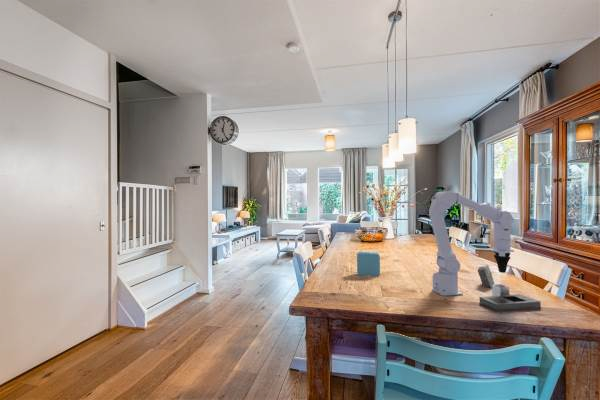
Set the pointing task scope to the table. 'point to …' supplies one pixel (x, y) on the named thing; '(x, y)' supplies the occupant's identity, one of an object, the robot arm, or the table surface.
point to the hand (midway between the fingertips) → (502, 270)
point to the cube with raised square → (500, 290)
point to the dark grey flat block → (510, 302)
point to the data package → (368, 263)
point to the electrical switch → (486, 276)
